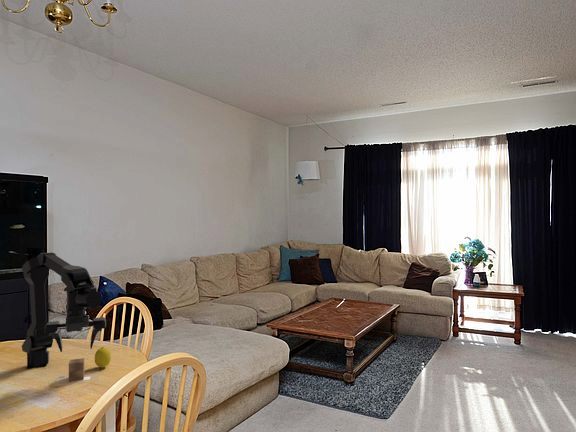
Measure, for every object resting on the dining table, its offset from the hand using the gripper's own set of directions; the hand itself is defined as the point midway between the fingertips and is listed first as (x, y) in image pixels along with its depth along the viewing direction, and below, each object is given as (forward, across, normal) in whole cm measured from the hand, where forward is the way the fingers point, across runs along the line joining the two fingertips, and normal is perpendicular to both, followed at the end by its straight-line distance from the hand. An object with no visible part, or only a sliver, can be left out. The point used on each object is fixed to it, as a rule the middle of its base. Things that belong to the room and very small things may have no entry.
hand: (76, 350), depth 148 cm
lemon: (+10, +8, +8) cm, 15 cm away
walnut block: (+10, 0, 0) cm, 10 cm away
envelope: (+10, 0, 0) cm, 10 cm away
